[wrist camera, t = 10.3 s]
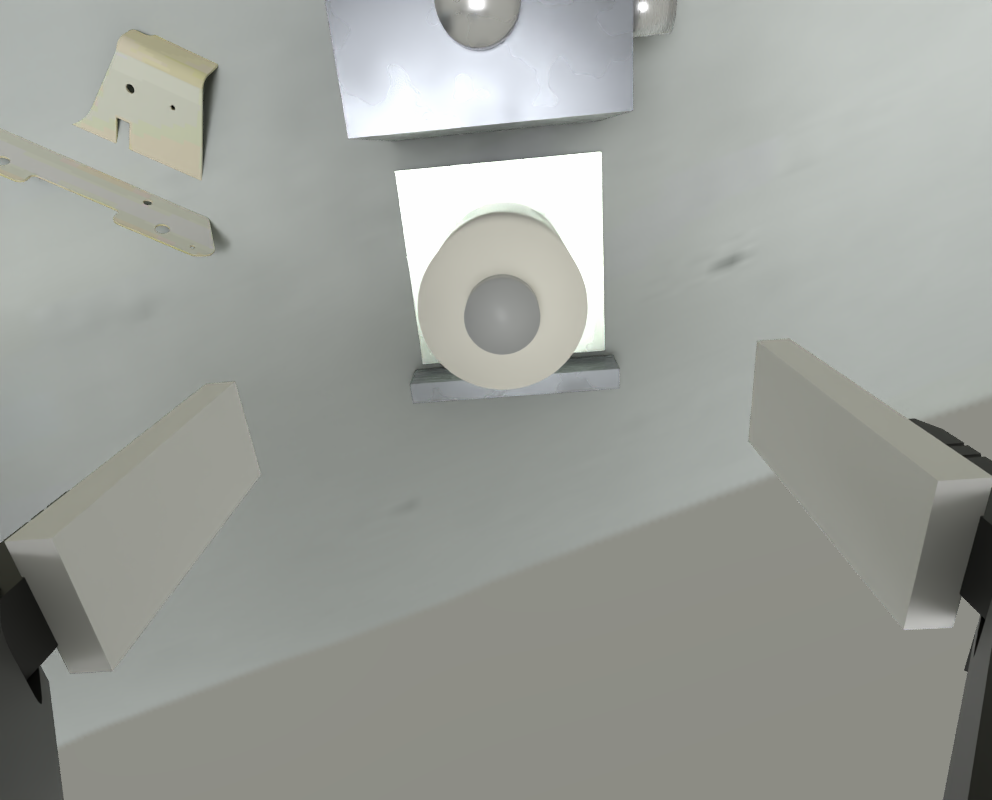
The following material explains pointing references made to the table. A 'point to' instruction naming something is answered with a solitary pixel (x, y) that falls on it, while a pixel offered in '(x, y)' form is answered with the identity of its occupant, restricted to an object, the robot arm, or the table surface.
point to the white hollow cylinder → (502, 299)
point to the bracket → (135, 139)
